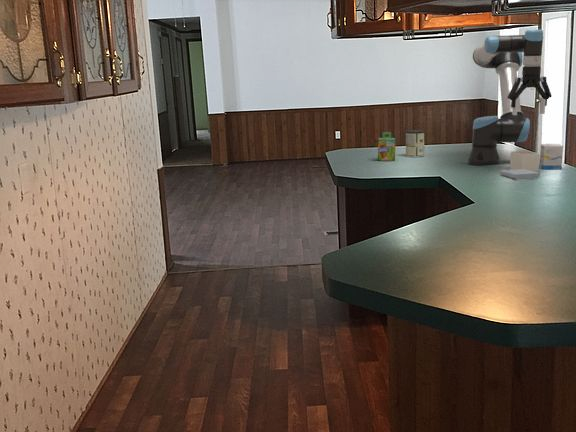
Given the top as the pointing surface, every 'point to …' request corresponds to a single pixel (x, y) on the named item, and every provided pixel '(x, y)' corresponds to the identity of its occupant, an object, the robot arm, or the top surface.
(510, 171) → the lid
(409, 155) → the cream miniature cabinet
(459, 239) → the top surface
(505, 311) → the top surface
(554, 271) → the top surface
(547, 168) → the ink box
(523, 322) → the top surface
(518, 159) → the crate
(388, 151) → the chalk box
